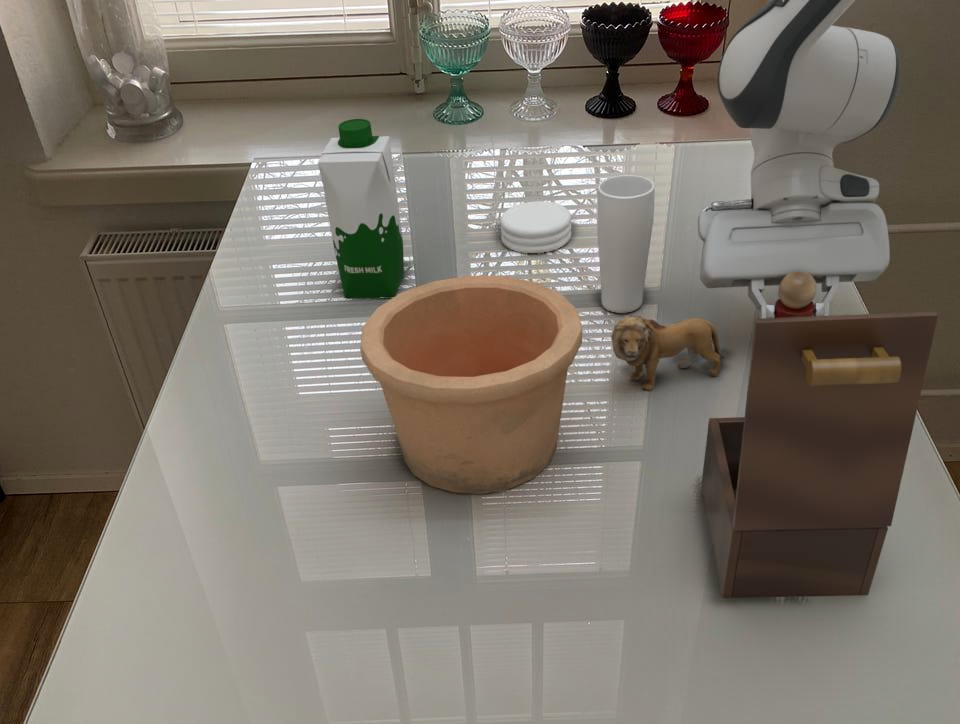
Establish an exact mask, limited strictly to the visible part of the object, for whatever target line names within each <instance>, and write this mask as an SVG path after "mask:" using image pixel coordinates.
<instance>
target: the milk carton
mask: <svg viewBox="0 0 960 724" xmlns="http://www.w3.org/2000/svg"><path fill="white" fill-rule="evenodd" d="M337 128H338V135H339V137H331V138H330V140H329V141H328V143H327V144H326V146H325V147H324V149H323V150H322V152H321V155H320V157H319V159H318V161H317V165H318V169H319V173H320V177H321V183H322V187H323V194H324V199H325V200H324V201H325V206H326V211H327V216H328V223H329V228H330V232H331V240H332V244H333V249H334V254H335V258H336V263H337V264H336V265H337V269H338V273H339V279H340V283H341V287H342V292H343V296H344V299H345V298H347V299H381V298H380V297H395V296H397V294H398V291H399V289H400V286H401V283H400V282H402V280H403V277H404V275H405V263H404V261H405V259H404V258H405V257H404V256H405V255H404V240H403V232H402V223H401V216H400V215H401V214H400V207H399V200H398V192H397V184H396V176H395V169H394V163H393V162H394V161H393V155H392V148H391V139H390V136H389V135H384V136H383V135H382V136H380V135H373V130H372V124H371V121H369V120H368V119H365V118H351V119H347V120H344V121H342V122H340V123H339V124H338V126H337ZM403 274H404V275H403ZM401 279H402V280H401ZM399 285H400V286H399ZM398 288H399V289H398ZM396 293H397V294H396Z"/></svg>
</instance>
